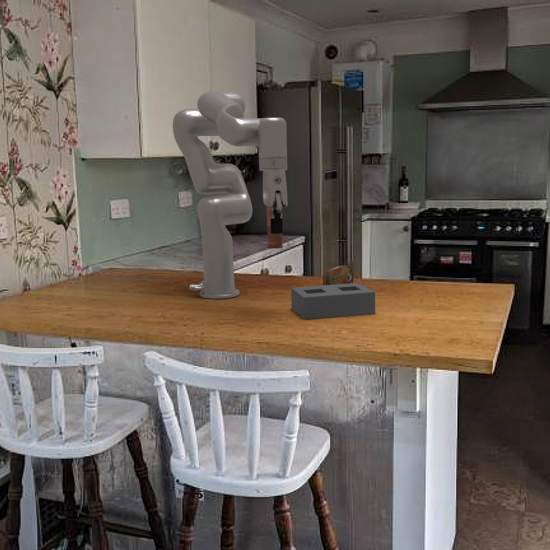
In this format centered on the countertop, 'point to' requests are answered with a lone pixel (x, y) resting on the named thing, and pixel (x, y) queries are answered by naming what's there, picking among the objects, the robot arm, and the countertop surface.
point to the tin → (338, 276)
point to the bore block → (332, 300)
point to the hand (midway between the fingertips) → (274, 231)
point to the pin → (273, 239)
